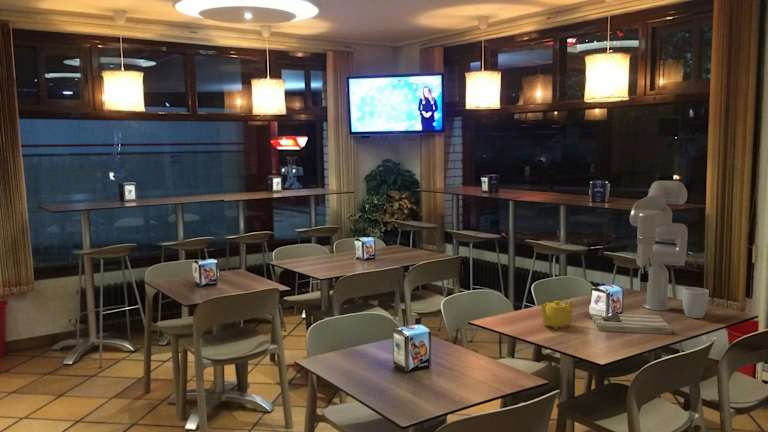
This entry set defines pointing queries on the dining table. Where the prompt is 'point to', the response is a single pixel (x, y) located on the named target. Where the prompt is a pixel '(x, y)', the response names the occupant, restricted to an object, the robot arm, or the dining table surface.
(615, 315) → the ball
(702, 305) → the mug
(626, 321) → the runway board
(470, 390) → the dining table surface
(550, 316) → the teapot
